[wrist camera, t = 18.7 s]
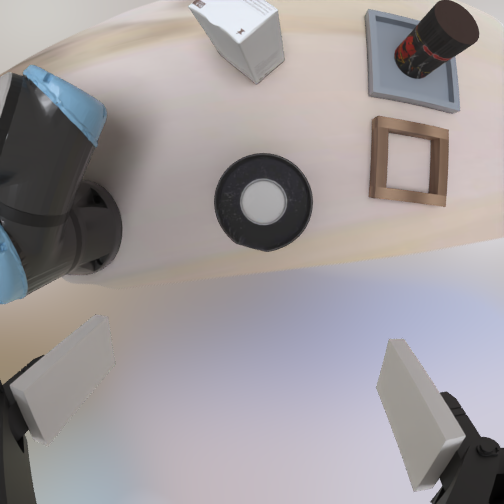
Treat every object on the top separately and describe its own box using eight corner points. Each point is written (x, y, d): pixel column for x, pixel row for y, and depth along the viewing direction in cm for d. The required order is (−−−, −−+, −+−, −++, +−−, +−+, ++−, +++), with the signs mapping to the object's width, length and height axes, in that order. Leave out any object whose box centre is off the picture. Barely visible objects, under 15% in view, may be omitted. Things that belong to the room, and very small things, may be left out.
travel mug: (282, 154, 42) (281, 132, 22) (310, 203, 43) (332, 222, 23) (233, 183, 43) (193, 185, 24) (261, 230, 44) (245, 270, 25)
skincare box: (285, 60, 38) (285, 10, 24) (254, 87, 40) (240, 45, 25) (244, 27, 38) (227, -28, 23) (214, 52, 39) (185, 4, 25)
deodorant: (423, 86, 36) (474, 54, 22) (388, 65, 36) (429, 22, 22) (433, 58, 35) (482, 21, 20) (400, 37, 35) (439, -9, 20)
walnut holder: (368, 196, 42) (374, 198, 39) (371, 119, 39) (377, 115, 36) (436, 204, 41) (445, 206, 38) (439, 132, 38) (448, 129, 35)
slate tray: (368, 96, 38) (373, 91, 36) (364, 16, 35) (368, 9, 33) (452, 113, 37) (460, 111, 35) (444, 36, 34) (451, 30, 32)
